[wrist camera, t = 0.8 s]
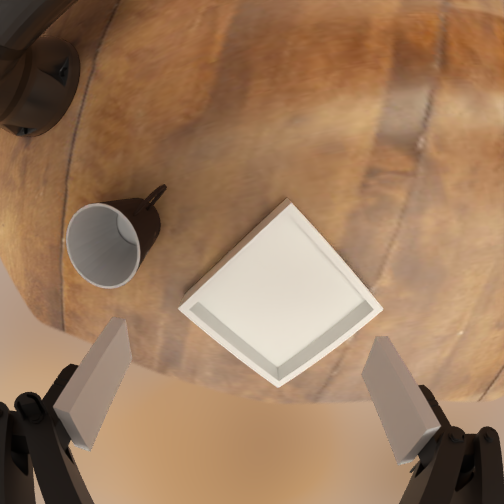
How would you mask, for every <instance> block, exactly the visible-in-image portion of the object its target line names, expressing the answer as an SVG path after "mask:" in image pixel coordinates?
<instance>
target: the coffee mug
mask: <svg viewBox="0 0 504 504" xmlns="http://www.w3.org/2000/svg"><path fill="white" fill-rule="evenodd" d="M166 188H167V187H166V186H165V184H163V185H162V186H160V187H158V188H157V189H156V190H155V191H153V192H152V193H151V194H150V195H149V196H148V197H147V198H146V199H145V200H143V199H139V198H133V199H124V200H116V201H108V202H100V203H93V204H89V205H86V206H84V207H82V208H81V209H79V210H78V211H77V212H76V213H75V214H74V215H73V217H72V218H71V220H70V222H69V225H68V228H67V233H66V246H67V252H68V255H69V258H70V260H71V262H72V264H73V266H74V268H75V269H76V270H77V272H78V273H79V274H80V275H81V276H82V277H83V278H84V279H85V280H86V281H88V282H89V283H91V284H93V285H95V286H97V287H101V288H105V289H113V288H118V287H121V286H123V285H125V284H126V283H127V282H129V281H130V280H131V279H132V277H133V276H134V275H135V273H136V272H137V270H138V268H139V266H140V265H141V263H142V261H143V260H144V258H145V256H146V255H147V253H148V251H149V250H150V248H151V247H152V245H153V243H154V242H155V240H156V239H157V237H158V235H159V232H160V226H161V224H160V217H159V214H158V212H157V210H156V209H155V208H154V206H153V205H154V204H155V202H156V201H157V200H158V199H159V198H160V197H161V195H162V194H163V193H164V191H165V190H166ZM155 196H156V197H155ZM153 197H155V198H154V199H153V200H152V201H151V203H149V201H150V200H151V199H152V198H153Z"/></svg>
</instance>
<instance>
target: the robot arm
mask: <svg viewBox="0 0 504 504" xmlns="http://www.w3.org/2000/svg"><path fill="white" fill-rule="evenodd" d="M77 1H78V0H0V128H2V129H4V130H6V131H8V132H10V133H12V134H14V135H16V136H21V137H31V136H38V135H40V134H43V133H45V132H46V131H48V130H49V129H51V128H52V127H53V126H54V125H55V124H56V123H57V122H58V121H59V120H60V119H61V117H62V116H63V115H64V113H65V112H66V110H67V108H68V107H69V105H70V103H71V101H72V99H73V96H74V94H75V91H76V88H77V85H78V80H79V74H80V62H79V57H78V54H77V51H76V49H75V48H74V47H73V46H72V45H71V44H70V43H69V42H67V41H65V40H63V39H60V38H57V37H39V36H40V35H41V34H42V33H43V32H44V31H45V30H46V29H47V28H48V27H49V26H50V25H51V24H52V23H53V22H54V21H55V20H57V19H58V18H59V17H60V16H61V15H62V14H63V13H64V12H65V11H66V10H67V9H69V8H70V7H71V6H72V5H73V4H74V3H76V2H77ZM131 361H132V355H131V349H130V344H129V338H128V331H127V325H126V319H123V318H117V317H112V318H111V320H110V321H109V323H108V324H107V325H106V327H105V328H104V330H103V331H102V332H101V334H100V335H99V337H98V338H97V340H96V341H95V343H94V344H93V345H92V347H91V348H90V350H89V351H88V353H87V354H86V356H85V357H84V359H83V360H82V362H81V363H80V365H79V366H78V365H74V364H70V365H68V366H67V367H65V368H64V369H63V370H62V371H61V373H60V374H59V375H58V378H56V380H55V381H54V384H53V385H52V386H51V387H50V389H49V391H48V392H47V393H46V395H45V396H44V398H43V399H42V400H41V398H40V396H39V395H37V394H36V393H33V392H25V393H23V394H21V395H19V396H18V397H17V398H16V400H15V403H14V407H15V409H16V410H17V411H10V410H9V409H8V407H7V406H6V404H4V403H3V402H0V504H36V502H35V493H34V479H33V468H34V471H35V474H36V478H37V481H38V484H39V487H40V490H41V493H42V495H43V498H44V501H45V504H94V502H93V500H92V498H91V496H90V494H89V492H88V490H87V488H86V486H85V483H84V481H83V479H82V477H81V475H80V472H79V470H78V468H77V465H76V463H75V460H74V458H73V455H72V453H71V450H70V448H69V447H68V445H69V442H70V440H72V442H73V443H74V445H75V446H76V447H79V448H82V449H84V450H87V451H91V449H92V446H93V444H94V442H95V439H96V437H97V435H98V432H99V430H100V428H101V425H102V423H103V421H104V418H105V416H106V414H107V412H108V409H109V407H110V405H111V403H112V401H113V398H114V396H115V394H116V392H117V390H118V388H119V386H120V384H121V381H122V379H123V377H124V375H125V373H126V371H127V369H128V367H129V365H130V363H131ZM362 377H363V379H364V381H365V384H366V386H367V388H368V391H369V393H370V396H371V398H372V400H373V403H374V405H375V407H376V410H377V413H378V415H379V417H380V420H381V422H382V425H383V427H384V430H385V432H386V435H387V438H388V440H389V443H390V445H391V447H392V451H393V453H394V456H395V458H396V461H397V464H398V465H401V464H405V463H409V462H412V461H413V460H414V459H415V457H416V456H417V455H418V456H419V458H420V461H419V462H418V463H417V464H416V465H415V466H414V467H413V468H412V469H411V471H410V473H412V472H413V471H414V473H413V475H412V477H411V480H410V482H409V484H408V486H407V488H406V490H405V492H404V495H403V497H402V499H401V501H400V503H399V504H504V477H503V476H504V474H503V464H502V455H501V447H500V441H499V436H498V433H497V432H496V430H495V429H493V428H492V427H483V428H481V430H480V431H479V432H478V433H477V434H465V432H464V431H463V430H462V429H460V428H458V427H455V426H451V425H450V423H449V421H448V419H447V418H446V416H445V414H444V413H443V411H442V409H441V407H440V406H439V405H438V402H437V401H436V400H435V397H434V396H433V394H432V392H431V391H430V390H429V389H428V388H427V387H426V386H424V385H417V383H416V381H415V380H414V378H413V376H412V375H411V373H410V371H409V370H408V368H407V366H406V365H405V363H404V361H403V360H402V358H401V357H400V355H399V353H398V352H397V350H396V349H395V347H394V345H393V344H392V342H391V341H390V339H389V338H388V336H381V337H375V340H374V343H373V346H372V348H371V351H370V354H369V356H368V359H367V361H366V364H365V367H364V369H363V372H362ZM414 469H415V470H414Z"/></svg>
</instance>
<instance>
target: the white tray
mask: <svg viewBox="0 0 504 504" xmlns="http://www.w3.org/2000/svg"><path fill="white" fill-rule="evenodd" d="M178 309H179V310H180V311H181V312H182V313H183V314H184V315H185V316H187V317H188V318H189V319H190V320H191V321H193V322H194V323H195V324H196V325H197V326H198V327H200V328H201V329H202V330H203V331H204V332H206V333H207V334H208V335H209V336H211V337H212V338H213V339H214V340H216V341H217V342H218V343H219V344H220V345H222V346H223V347H224V348H226V349H227V350H228V351H229V352H231V353H232V354H233V355H234V356H236V357H237V358H238V359H240V360H241V361H242V362H244V363H245V364H246V365H247V366H249V367H250V368H251V369H253V370H254V371H255V372H257V373H258V374H259V375H261V376H262V377H264V378H265V379H266V380H268V381H269V382H270V383H272V384H273V385H275V386H276V387H277V388H279V387H281V386H282V385H284V384H285V383H287V382H288V381H290V380H291V379H293V378H294V377H296V376H297V375H299V374H300V373H302V372H303V371H304V370H306V369H307V368H309V367H310V366H312V365H313V364H314V363H316V362H317V361H319V360H320V359H321V358H323V357H324V356H326V355H327V354H328V353H330V352H331V351H332V350H334V349H335V348H336V347H338V346H339V345H340V344H342V343H343V342H344V341H345V340H347V339H348V338H349V337H351V336H352V335H353V334H354V333H356V332H357V331H358V330H359V329H361V328H362V327H363V326H364V325H365V324H367V323H368V322H369V321H370V320H372V319H373V318H374V317H375V316H376V315H378V314H379V313H380V312H381V311H382V310H383V308H382V306H381V305H380V304H379V302H378V301H377V300H376V298H375V297H374V296H373V295H372V293H371V292H370V291H369V290H368V288H367V287H366V286H365V285H364V284H363V282H362V281H361V280H360V279H359V278H358V276H357V275H356V274H355V273H354V272H353V271H352V269H351V268H350V267H349V266H348V265H347V263H346V262H345V261H344V260H343V259H342V258H341V256H340V255H339V254H338V253H337V252H336V251H335V250H334V248H333V247H332V246H331V245H330V244H329V243H328V242H327V240H326V239H325V238H324V237H323V236H322V235H321V234H320V233H319V231H318V230H317V229H316V228H315V227H314V226H313V225H312V224H311V223H310V222H309V220H308V219H307V218H306V217H305V216H304V215H303V214H302V213H301V212H300V211H299V209H298V208H297V207H296V206H295V205H294V204H293V203H292V202H291V201H290V200H289V199H288V198H286V199H285V200H284V201H283V202H282V203H281V204H280V205H278V206H277V207H276V208H275V209H274V210H273V211H272V212H271V213H270V214H269V215H268V216H267V217H266V218H265V219H263V220H262V221H261V222H260V223H259V224H258V225H257V226H256V227H255V228H254V229H253V230H252V231H251V232H250V233H248V234H247V235H246V236H245V237H244V238H243V239H242V240H241V241H240V242H239V243H238V244H237V245H236V246H235V247H234V248H233V249H231V250H230V251H229V252H228V253H227V254H226V255H225V256H224V257H223V258H222V259H221V260H220V261H219V262H218V263H217V264H216V265H215V266H214V267H212V268H211V269H210V270H209V271H208V272H207V273H206V274H205V275H204V276H203V277H202V278H201V279H200V280H199V281H198V282H197V283H196V284H195V285H194V286H193V287H192V288H190V289H189V290H188V291H187V292H186V293H185V294H184V297H183V299H182V301H181V303H180V305H179V307H178Z"/></svg>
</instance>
